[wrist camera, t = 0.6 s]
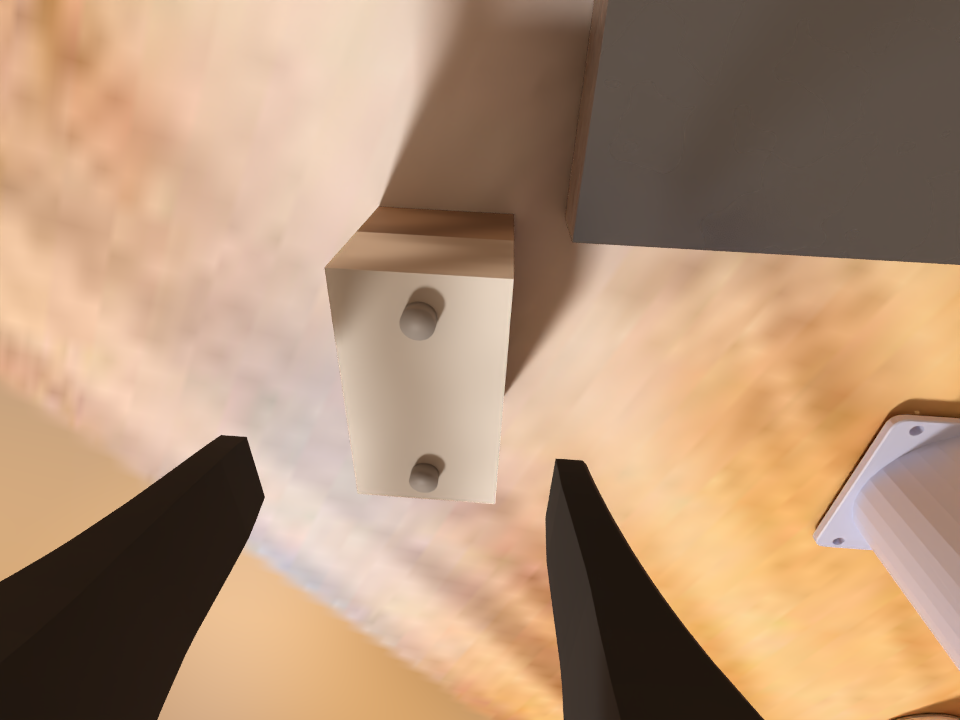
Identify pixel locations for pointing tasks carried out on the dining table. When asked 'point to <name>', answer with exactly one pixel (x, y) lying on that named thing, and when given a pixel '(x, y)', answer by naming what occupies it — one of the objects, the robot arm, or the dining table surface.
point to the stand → (771, 128)
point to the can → (929, 717)
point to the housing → (424, 349)
